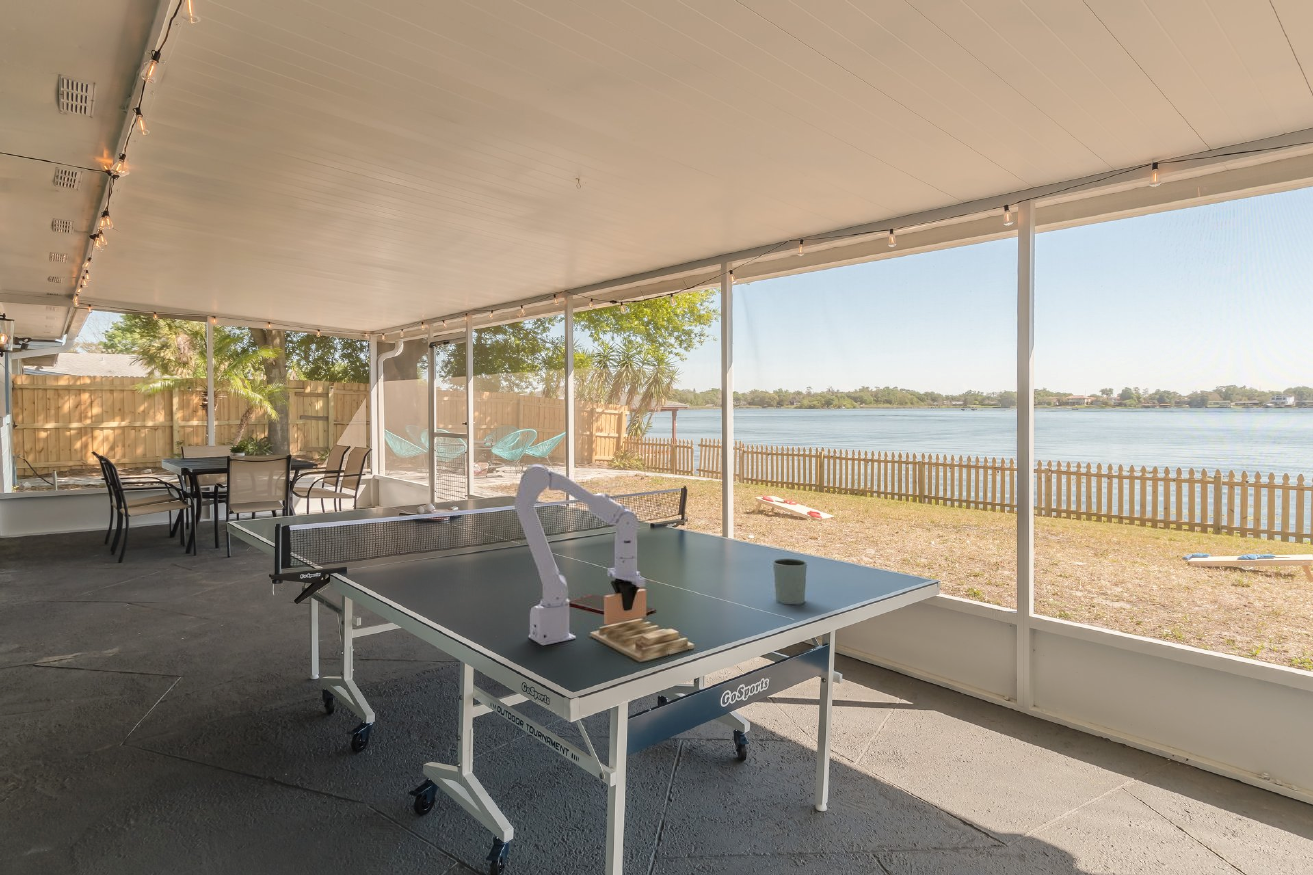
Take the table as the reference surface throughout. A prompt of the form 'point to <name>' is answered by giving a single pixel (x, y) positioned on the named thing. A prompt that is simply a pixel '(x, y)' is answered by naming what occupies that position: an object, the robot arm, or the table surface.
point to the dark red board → (596, 604)
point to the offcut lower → (641, 645)
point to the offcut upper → (659, 636)
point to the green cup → (790, 580)
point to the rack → (638, 640)
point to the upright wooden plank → (617, 613)
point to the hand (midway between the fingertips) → (625, 608)
